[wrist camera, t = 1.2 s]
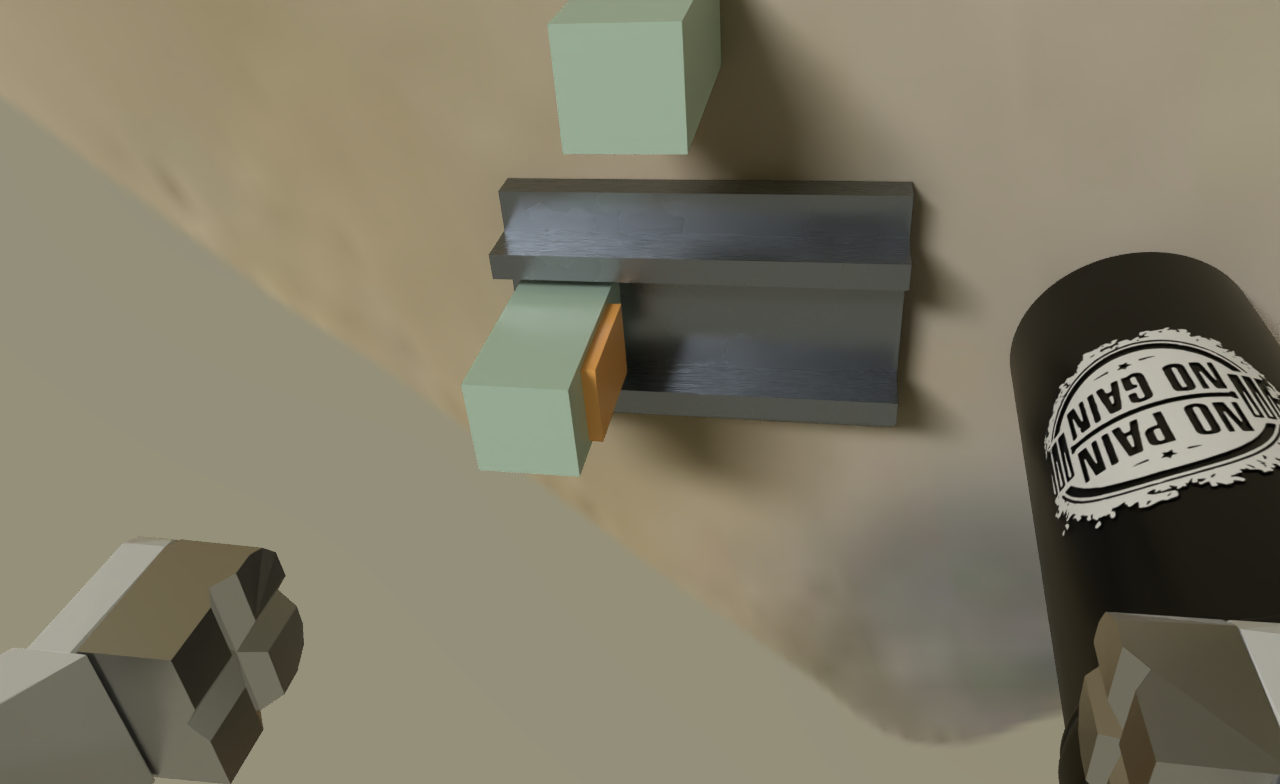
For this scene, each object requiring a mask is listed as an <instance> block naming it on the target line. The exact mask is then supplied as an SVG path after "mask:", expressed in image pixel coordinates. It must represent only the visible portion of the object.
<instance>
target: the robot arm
mask: <svg viewBox="0 0 1280 784" xmlns="http://www.w3.org/2000/svg"><path fill="white" fill-rule="evenodd" d="M284 577H285V573H284V571H283V568H282V566H281V564H280V561H279V559H278V557H277V554H276V552H273V551H270V550H267V549H264V548H258V547H248V546H239V545H230V544H220V543H210V542H201V541H191V540H172V539H163V538H153V537H144V536H139V537H136V538H134V539H131V540H129V541H127V542H124V543H123V544H122V545H121V546H120V547H119V548H118V549H117V550H116V551H115V553H114V554H113V555H112V556H111V557H110V558H109V559H108V560H107V561H106V562H105V564H104V565H103V566H102V567H101V568H100V569H99V570H98V571H97V572H96V573H95V575H94V576H93V577H92V578H91V579H90V580H89V581H88V582H87V583H86V584H85V586H84V587H83V588H82V589H81V590H80V591H79V592H78V593H77V594H76V595H75V596H74V598H73V599H72V600H71V601H70V602H69V603H68V604H67V605H66V606H65V607H64V609H63V610H62V611H61V612H60V613H59V614H58V615H57V616H56V617H55V618H54V620H53V621H52V622H51V623H50V624H49V625H48V626H47V627H46V628H45V630H44V631H43V632H42V633H41V634H40V635H39V636H38V637H37V638H36V639H35V640H34V641H33V643H32V644H31V645H30V646H29V647H28V648H16V647H14V648H12V649H10V650H8V651H6V652H4V653H2V654H0V784H153V783H154V781H155V779H154V778H153V777H160V778H171V779H181V780H191V781H202V782H212V783H222V784H231V783H232V781H233V779H234V777H235V776H236V774H237V773H238V771H239V769H240V767H241V766H242V764H243V763H244V761H245V759H246V758H247V756H248V754H249V753H250V751H251V749H252V748H253V746H254V744H255V743H256V741H257V739H258V738H259V736H260V734H261V733H262V731H263V724H262V718H261V711H260V710H262V709H263V708H265V707H266V706H267V705H269V704H270V703H272V702H273V701H275V700H276V699H278V698H279V697H281V696H282V695H284V694H285V692H286V690H287V689H288V687H289V685H290V683H291V682H292V680H293V678H294V676H295V674H296V673H297V670H298V666H299V662H300V658H301V654H302V650H303V645H304V639H303V623H302V620H301V617H300V614H299V611H298V609H297V606H296V605H295V604H294V603H292V602H291V601H290V600H289V599H288V598H287V597H286V596H285V595H283V594H282V593H281V592H280V591H279V590H278V588H279V587H280V585H281V583H282V581H283V579H284ZM1094 646H1095V650H1096V655H1097V659H1098V663H1099V667H1097V668H1096V669H1094V670H1093V671H1091V672H1090V673H1088V674H1087V675H1085V677H1084V682H1083V687H1082V691H1081V696H1080V701H1079V723H1078V734H1079V744H1080V753H1081V759H1082V764H1083V769H1084V774H1085V779H1086V781H1087V782H1088V783H1089V784H1280V623H1267V622H1252V621H1237V620H1229V621H1227V622H1226V621H1224V620H1219V619H1204V618H1189V617H1175V616H1160V615H1145V614H1130V613H1116V612H1105V613H1104V615H1103V616H1102V618H1101V619H1100V621H1099V623H1098V627H1097V631H1096V634H1095V638H1094Z"/></svg>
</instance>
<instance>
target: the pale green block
mask: <svg viewBox="0 0 1280 784" xmlns="http://www.w3.org/2000/svg"><path fill="white" fill-rule="evenodd" d="M547 25H548V33H549V41H550V50H551V58H552V67H553V75H554V83H555V92H556V100H557V109H558V117H559V125H560V134H561V142H562V151H563V154H688V152H689V150H690V147H691V144H692V142H693V139H694V136H695V134H696V131H697V128H698V126H699V123H700V120H701V118H702V115H703V112H704V110H705V107H706V104H707V102H708V99H709V96H710V94H711V91H712V88H713V86H714V83H715V81H716V78H717V75H718V73H719V70H720V67H721V27H720V0H569V1H568V2H567V4H566V5H565V6H564V7H563V8H562V9H561V10H560V11H559V12H558V13H557V14H556V15H555V17H554V18H553V19H552V20H551V21H550V22H549V23H548V24H547Z"/></svg>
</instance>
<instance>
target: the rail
mask: <svg viewBox="0 0 1280 784" xmlns="http://www.w3.org/2000/svg"><path fill="white" fill-rule="evenodd" d="M498 192H499V198H500V204H501V211H502V217H503V223H504V229H505V231H504V232H503V234H502V235H501V237H500V238H499V240H498V241H497V243H496V245H495V246H494V248H493V249H492V251H491V252H490V254H489V259H490V264H491V270H492V276H493V279H513V285H514V291H515V290H516V288H517V286H518V284H519V283H520V281H521V280H552V281H587V282H619V287H620V298H621V308H622V319H623V330H624V341H625V352H626V363H627V374H626V377H625V380H624V383H623V385H622V388H621V391H620V394H619V397H618V400H617V403H616V406H615V409H614V412H621V413H639V414H658V415H676V416H695V417H713V418H732V419H750V420H769V421H787V422H806V423H824V424H843V425H861V426H880V427H892V425H896V419H897V409H898V393H897V365H898V354H899V344H900V333H901V323H902V312H903V302H904V291H909V287H910V276H911V266H912V263H911V250H910V229H911V218H912V208H913V197H914V195H913V184H912V182H860V181H746V180H632V179H519V178H508V179H507V180H506V181H505V183H504V184H503V186H502V187H501V188H500V190H499V191H498Z"/></svg>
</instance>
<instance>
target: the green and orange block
mask: <svg viewBox="0 0 1280 784" xmlns="http://www.w3.org/2000/svg"><path fill="white" fill-rule="evenodd" d="M626 374H627V363H626V352H625V341H624V330H623V319H622V308H621V298H620V287H619V282H587V281H552V280H521V281H520V283H519V284H518V286H517V288H516V290H515V291H514V293H513V295H512V297H511V298H510V300H509V302H508V304H507V305H506V307H505V309H504V311H503V312H502V314H501V316H500V318H499V319H498V321H497V323H496V325H495V326H494V328H493V330H492V332H491V333H490V335H489V337H488V339H487V340H486V342H485V344H484V346H483V347H482V349H481V351H480V353H479V354H478V356H477V358H476V360H475V361H474V363H473V365H472V367H471V368H470V370H469V372H468V374H467V375H466V377H465V379H464V381H463V382H462V384H461V386H462V391H463V396H464V401H465V405H466V410H467V415H468V420H469V425H470V429H471V434H472V439H473V443H474V448H475V453H476V458H477V462H478V467H479V470H487V471H502V472H518V473H532V474H547V475H562V476H576V477H580V474H581V472H582V469H583V466H584V463H585V461H586V458H587V455H588V452H589V449H590V447H591V444H592V441H600V442H603V441H604V438H605V435H606V432H607V429H608V426H609V423H610V420H611V417H612V415H613V412H614V409H615V406H616V403H617V400H618V397H619V394H620V391H621V388H622V385H623V383H624V380H625V377H626Z"/></svg>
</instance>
